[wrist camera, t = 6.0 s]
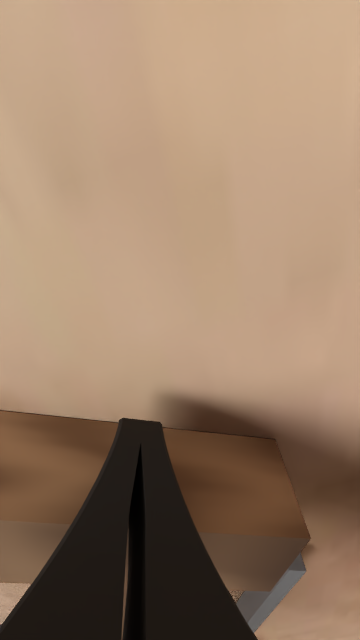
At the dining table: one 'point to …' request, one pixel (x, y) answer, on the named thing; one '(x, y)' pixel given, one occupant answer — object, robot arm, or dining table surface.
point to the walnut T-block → (73, 488)
